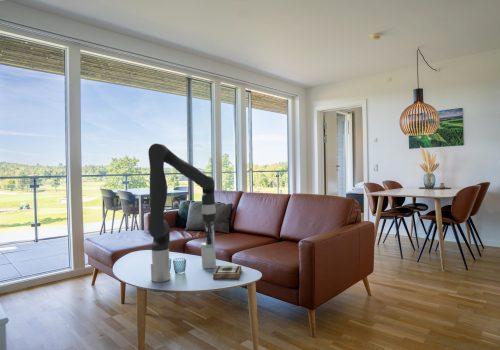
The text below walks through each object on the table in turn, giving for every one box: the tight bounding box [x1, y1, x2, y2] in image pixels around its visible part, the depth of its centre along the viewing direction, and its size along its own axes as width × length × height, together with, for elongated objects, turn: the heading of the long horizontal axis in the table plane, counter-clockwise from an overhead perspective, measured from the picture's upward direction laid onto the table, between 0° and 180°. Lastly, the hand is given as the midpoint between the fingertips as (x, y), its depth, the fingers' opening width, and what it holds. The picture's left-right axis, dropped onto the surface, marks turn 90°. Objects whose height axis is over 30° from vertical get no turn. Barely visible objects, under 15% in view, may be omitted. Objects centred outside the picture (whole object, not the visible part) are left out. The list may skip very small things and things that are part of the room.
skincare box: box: [200, 242, 217, 270], centre depth 202 cm, size 8×6×15 cm
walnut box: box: [212, 265, 242, 280], centre depth 187 cm, size 14×14×3 cm
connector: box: [205, 229, 216, 248], centre depth 182 cm, size 4×4×10 cm
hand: (210, 243), depth 182 cm, fingers closed on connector, 4 cm apart
